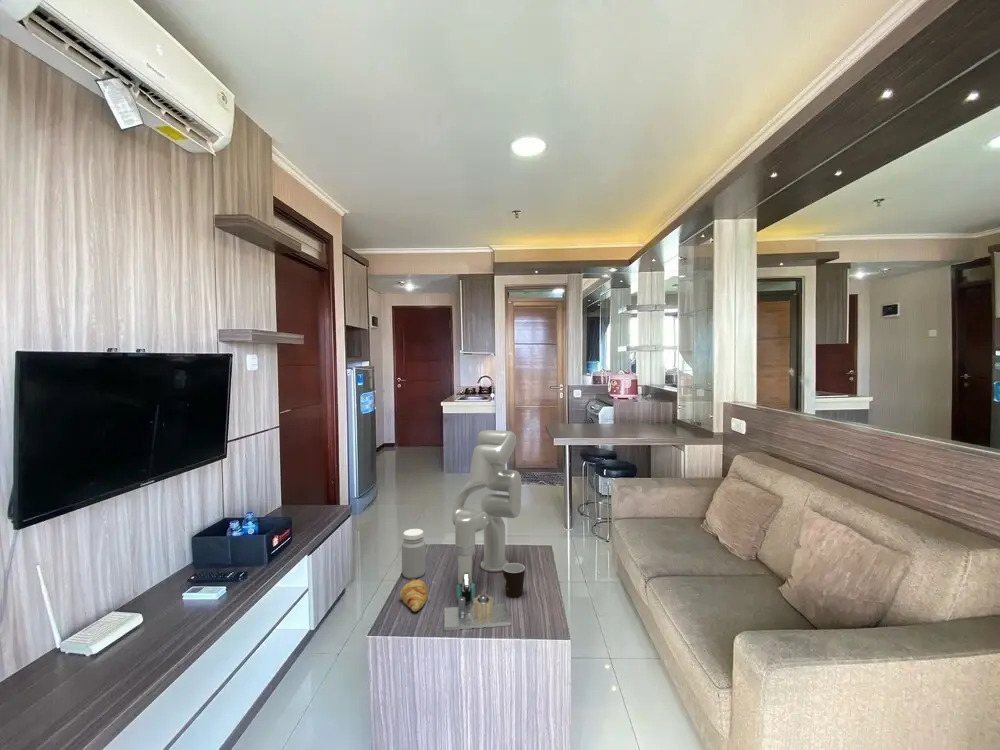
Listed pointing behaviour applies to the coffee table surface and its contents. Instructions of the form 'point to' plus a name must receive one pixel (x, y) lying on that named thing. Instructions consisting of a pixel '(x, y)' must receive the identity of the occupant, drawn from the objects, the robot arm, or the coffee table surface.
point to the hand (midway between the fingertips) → (465, 596)
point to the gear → (459, 590)
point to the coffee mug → (513, 579)
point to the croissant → (414, 594)
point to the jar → (413, 554)
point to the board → (476, 614)
